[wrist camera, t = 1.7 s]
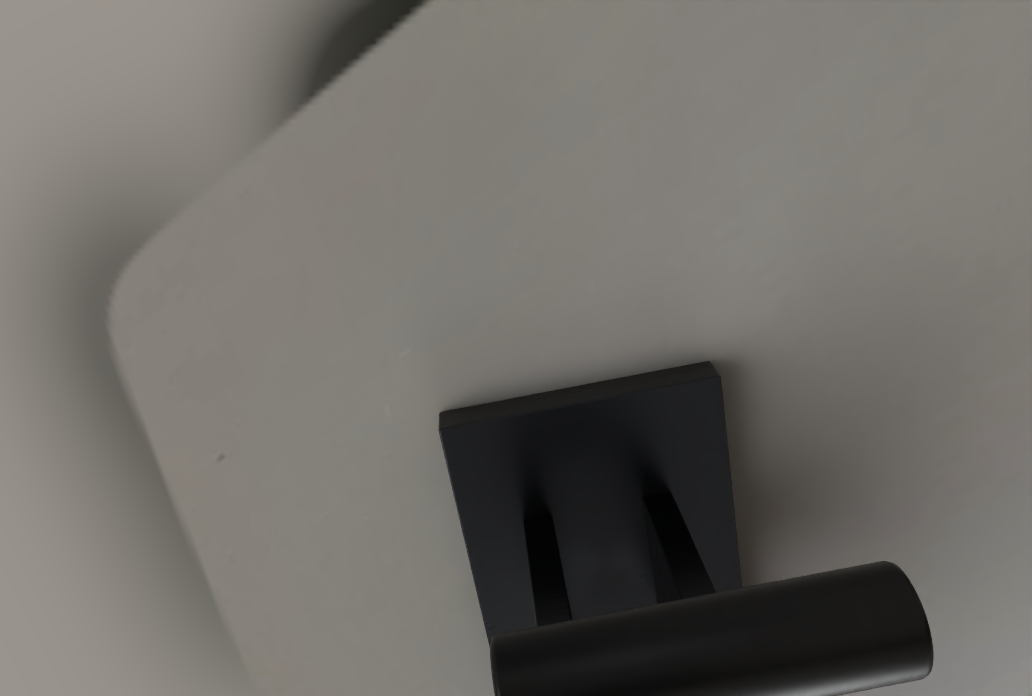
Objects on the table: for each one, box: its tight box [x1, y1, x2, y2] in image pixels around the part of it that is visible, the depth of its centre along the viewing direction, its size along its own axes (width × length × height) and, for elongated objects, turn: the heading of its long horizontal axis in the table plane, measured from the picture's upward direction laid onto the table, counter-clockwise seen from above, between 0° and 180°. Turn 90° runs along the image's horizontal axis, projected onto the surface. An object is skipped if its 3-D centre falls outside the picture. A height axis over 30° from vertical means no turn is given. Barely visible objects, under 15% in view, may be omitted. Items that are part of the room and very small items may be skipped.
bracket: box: [439, 361, 742, 646], centre depth 24 cm, size 12×9×14 cm
